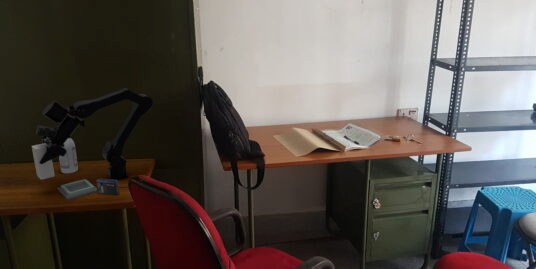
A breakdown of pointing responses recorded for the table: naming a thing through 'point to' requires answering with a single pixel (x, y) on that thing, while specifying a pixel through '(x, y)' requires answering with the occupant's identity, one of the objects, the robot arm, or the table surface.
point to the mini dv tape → (107, 186)
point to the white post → (42, 169)
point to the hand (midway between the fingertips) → (39, 161)
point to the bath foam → (69, 158)
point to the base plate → (77, 189)
